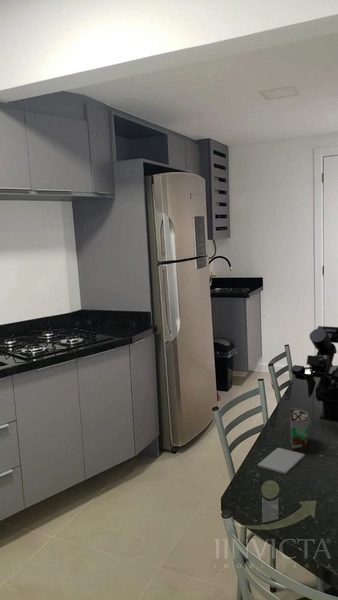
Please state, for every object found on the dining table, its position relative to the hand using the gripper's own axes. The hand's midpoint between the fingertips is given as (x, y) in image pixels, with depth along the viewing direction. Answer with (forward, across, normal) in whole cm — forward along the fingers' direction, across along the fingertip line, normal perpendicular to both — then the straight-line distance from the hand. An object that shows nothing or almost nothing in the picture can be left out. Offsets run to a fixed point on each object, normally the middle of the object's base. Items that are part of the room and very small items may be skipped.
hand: (312, 397), depth 159 cm
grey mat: (+26, 0, -8) cm, 27 cm away
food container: (+16, 0, +2) cm, 16 cm away
